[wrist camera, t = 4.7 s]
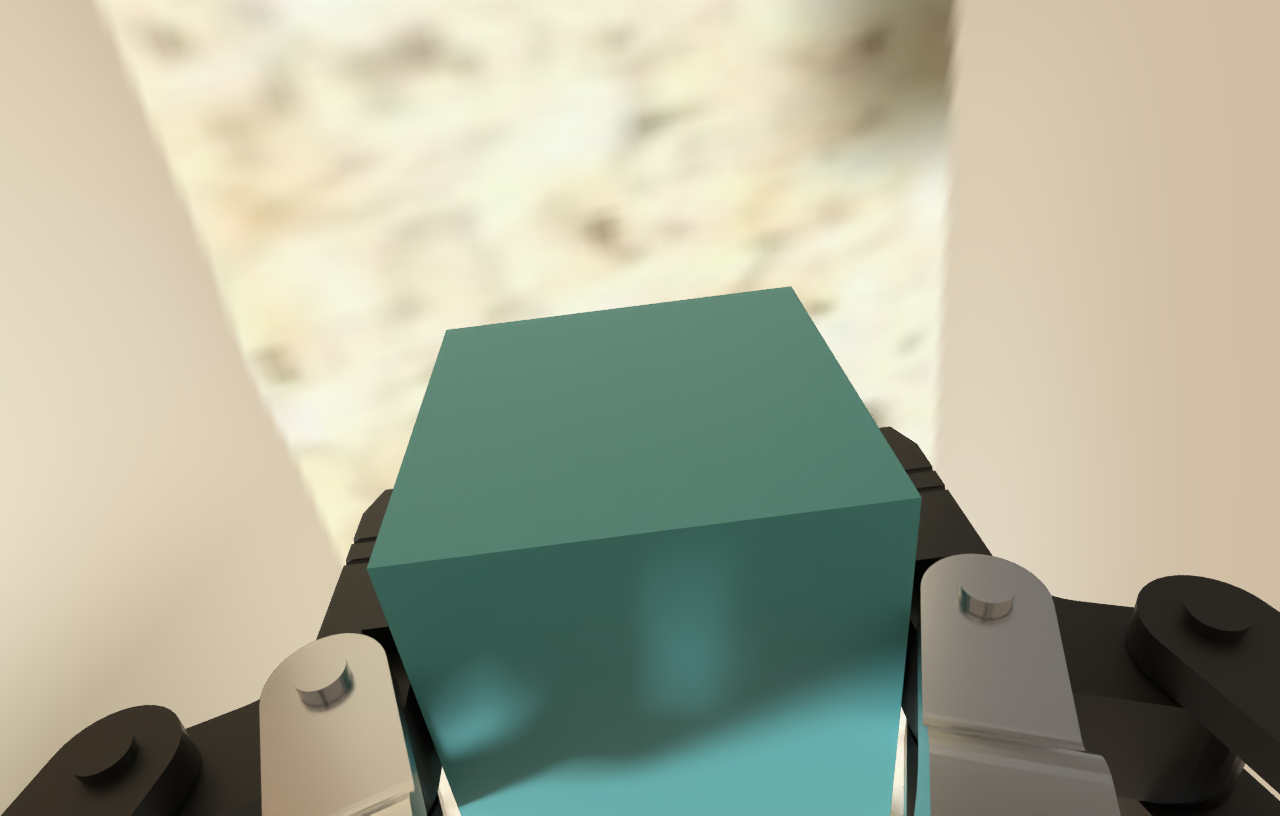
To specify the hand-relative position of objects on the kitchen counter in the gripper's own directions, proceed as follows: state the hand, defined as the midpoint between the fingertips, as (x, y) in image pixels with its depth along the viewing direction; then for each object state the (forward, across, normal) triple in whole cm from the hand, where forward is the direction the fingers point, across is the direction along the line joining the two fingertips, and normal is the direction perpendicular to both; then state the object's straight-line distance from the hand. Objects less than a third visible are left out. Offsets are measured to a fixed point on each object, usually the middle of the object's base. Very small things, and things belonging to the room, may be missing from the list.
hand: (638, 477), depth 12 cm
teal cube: (+1, 0, 0) cm, 1 cm away
